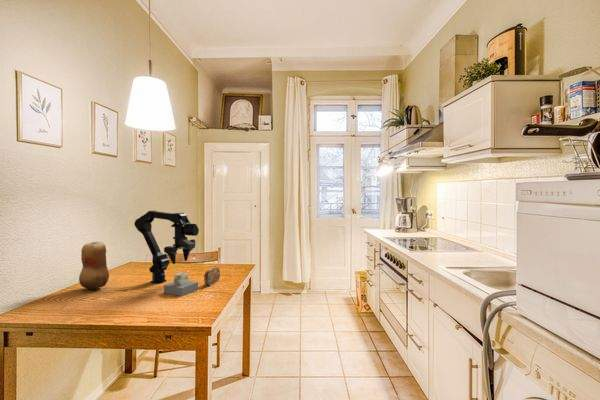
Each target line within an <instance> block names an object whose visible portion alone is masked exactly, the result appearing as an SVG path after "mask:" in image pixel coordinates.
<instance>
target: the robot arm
mask: <svg viewBox="0 0 600 400" xmlns="http://www.w3.org/2000/svg"><path fill="white" fill-rule="evenodd" d="M155 219H160V220H166V221H170V222H171V223H173V224H172V225H170V227H171V228H174V236H172V239H174V243H173V244H172V245H169V246H165V247H164V248H163V252H164V253H162V251H161V249H160V247H159V245H158V241H156V240H157V239H156V238H155V236H154V234H153V232H152V227H153V225H152V223H153V222H154V221H155ZM133 225H134V227H135V228H136V230H137V231H138V232H139V233H141V234H142V236H143V238H144V240H145V242H146V245H147V247H148V249H149V251H150V253H151V255H152V261H151V262H152V265H150V267H149V272H150V273H151V274H152V275H151V277H152V278H151V279H152V280H150V281H149V282H150V283H153V284H161V283H164V282H167V279H166V274H165V272H166V270H167V269H168V267H169V265H170V261H171V262H172V264H173V265H175V264H176V256H177V254H178V252H177V251H178V250H182V254H183V260H184V262H187V261H188V258H189V255H190V253H191V252H192V251H193V250H194V249H195V248H196V239H194V238H192V239H188V236H190V237H191V236H192V237H193V236H195V237H197V236H198V234H199V232H200V229H199V227H198V225H197V223H191V221H190V220H189V217H188V215H187V213H185V212H174V213H172V212H164V211H157V210H148V211H147V212H146V213H145V214H142V215H141V216H140V217H138V218H137V219H136V220H135V221H134V223H133Z"/></svg>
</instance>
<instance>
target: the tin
mask: <svg viewBox="0 0 600 400" xmlns="http://www.w3.org/2000/svg"><path fill="white" fill-rule="evenodd" d="M220 275H221V273H220V268H218V267H212V268H210V269H208V270H206V271H205V273H204V275H203V279H204V285H206V286H213V285H214V284H217V283H218V282H219V281H220V277H221V276H220Z"/></svg>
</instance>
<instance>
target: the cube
mask: <svg viewBox="0 0 600 400" xmlns="http://www.w3.org/2000/svg"><path fill="white" fill-rule="evenodd" d="M188 281H189V273H187V272H178V273H176V274H173V282H174V284H175V285H184V284H187V283H188Z"/></svg>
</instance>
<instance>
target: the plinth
mask: <svg viewBox="0 0 600 400" xmlns="http://www.w3.org/2000/svg"><path fill="white" fill-rule="evenodd" d="M198 290H199V282H198V281H193V280H188V283H187V284H184V285H175V284H174V281H172V282H169V283H167V284H164V285H163V293H164V294H168V295H174V296H179V297H183V296H186V295H188V294H191V293H193V292H196V291H198Z"/></svg>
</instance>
